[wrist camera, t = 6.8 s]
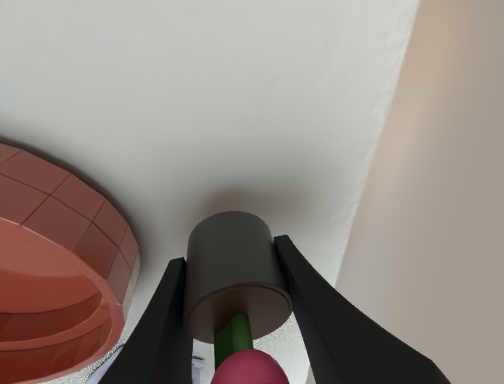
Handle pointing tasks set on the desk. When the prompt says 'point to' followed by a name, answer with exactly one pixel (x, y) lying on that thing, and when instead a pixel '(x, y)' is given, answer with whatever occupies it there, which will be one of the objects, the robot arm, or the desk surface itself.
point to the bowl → (58, 271)
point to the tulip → (235, 295)
